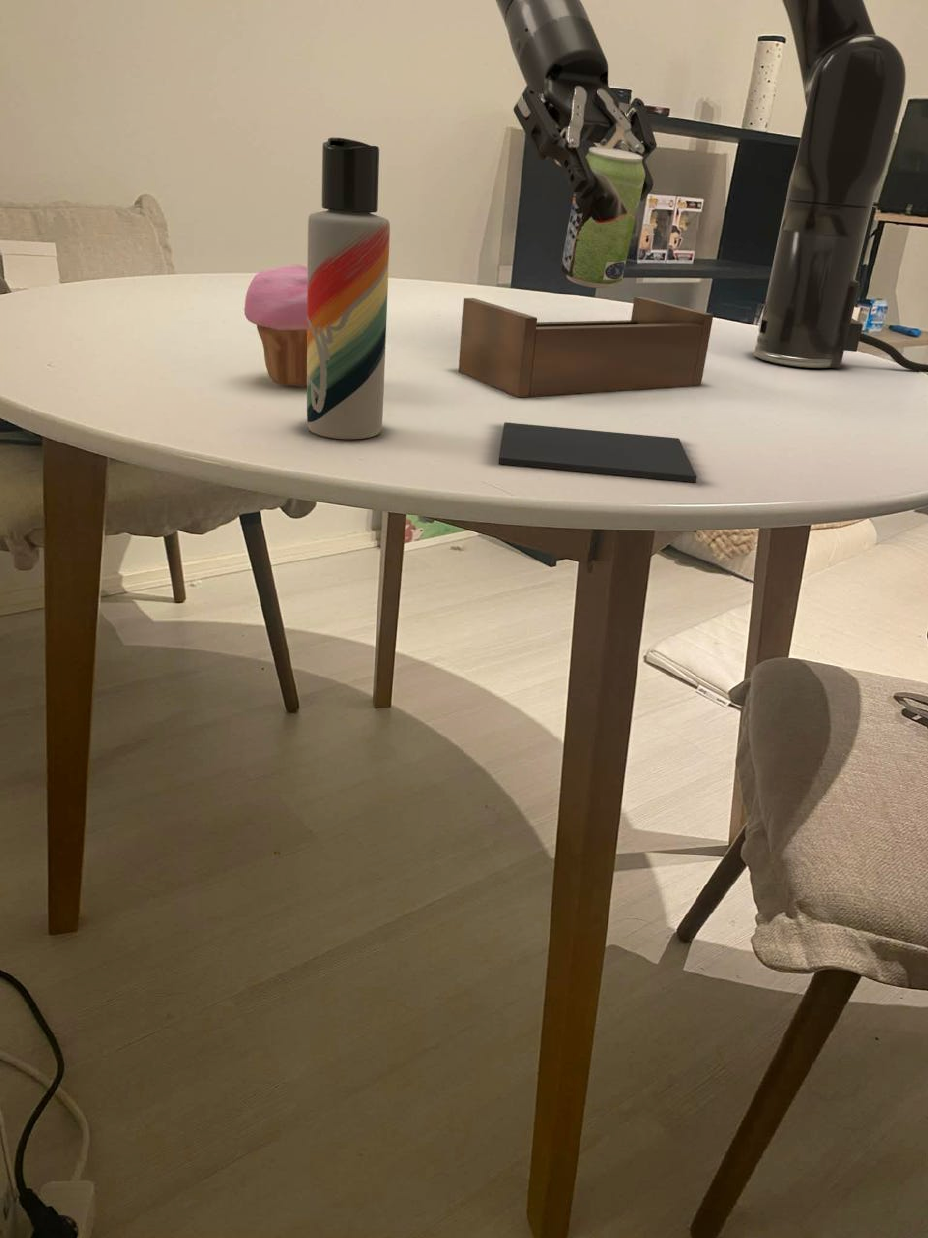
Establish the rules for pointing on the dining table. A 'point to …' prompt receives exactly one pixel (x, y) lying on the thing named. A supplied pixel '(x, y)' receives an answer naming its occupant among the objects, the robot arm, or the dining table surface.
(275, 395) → the dining table surface
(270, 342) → the cupcake
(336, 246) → the lotion bottle
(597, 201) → the beverage can
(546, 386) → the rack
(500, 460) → the mat
